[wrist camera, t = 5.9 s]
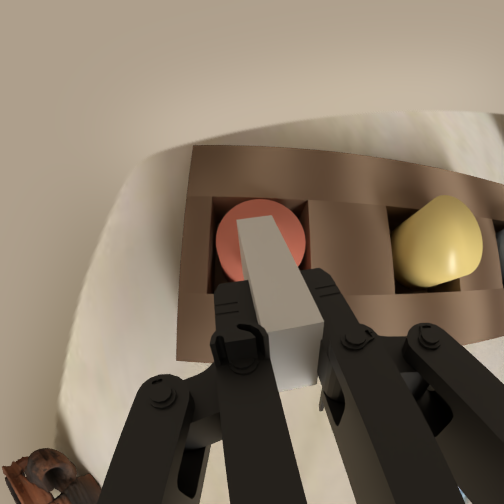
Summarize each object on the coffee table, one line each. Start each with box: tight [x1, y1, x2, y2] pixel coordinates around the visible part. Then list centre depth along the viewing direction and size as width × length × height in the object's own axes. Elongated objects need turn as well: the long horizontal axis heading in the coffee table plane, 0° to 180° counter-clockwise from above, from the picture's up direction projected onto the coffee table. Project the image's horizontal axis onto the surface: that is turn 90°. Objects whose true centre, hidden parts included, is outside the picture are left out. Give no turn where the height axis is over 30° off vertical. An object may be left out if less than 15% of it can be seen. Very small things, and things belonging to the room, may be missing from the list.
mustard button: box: [390, 195, 483, 290], centre depth 15 cm, size 4×4×4 cm
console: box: [176, 145, 504, 363], centre depth 19 cm, size 28×12×8 cm, turn 89°
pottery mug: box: [2, 448, 101, 504], centre depth 15 cm, size 12×10×8 cm
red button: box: [216, 199, 306, 283], centre depth 17 cm, size 4×4×4 cm
